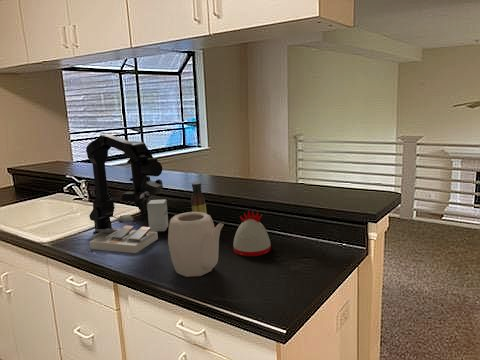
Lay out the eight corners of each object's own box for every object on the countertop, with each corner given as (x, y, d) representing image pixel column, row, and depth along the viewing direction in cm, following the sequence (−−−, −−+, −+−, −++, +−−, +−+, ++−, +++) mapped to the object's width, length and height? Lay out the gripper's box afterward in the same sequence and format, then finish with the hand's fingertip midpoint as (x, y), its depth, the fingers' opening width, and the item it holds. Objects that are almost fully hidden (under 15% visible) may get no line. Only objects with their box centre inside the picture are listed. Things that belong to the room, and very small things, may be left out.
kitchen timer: (267, 257, 143) (266, 216, 140) (230, 255, 146) (227, 215, 143) (272, 243, 156) (271, 205, 153) (237, 242, 159) (236, 205, 156)
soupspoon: (124, 225, 191) (136, 222, 196) (123, 218, 190) (135, 216, 195) (101, 216, 206) (113, 213, 211) (101, 209, 205) (113, 207, 210)
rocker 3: (130, 241, 157) (129, 238, 156) (142, 230, 164) (141, 226, 164) (140, 242, 155) (139, 238, 154) (151, 230, 163) (151, 227, 162)
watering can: (207, 292, 119) (203, 230, 115) (154, 269, 137) (149, 215, 133) (243, 273, 130) (240, 217, 126) (189, 255, 148) (185, 205, 144)
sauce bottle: (208, 224, 183) (206, 181, 180) (206, 228, 177) (203, 184, 173) (194, 224, 184) (191, 181, 180) (191, 228, 178) (188, 184, 174)
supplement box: (165, 231, 176) (163, 203, 174) (149, 231, 177) (146, 203, 174) (169, 226, 184) (166, 199, 181) (152, 226, 184) (150, 199, 181)
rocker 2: (113, 240, 159) (112, 236, 159) (125, 228, 167) (124, 225, 166) (122, 241, 158) (121, 237, 157) (134, 229, 165) (133, 225, 165)
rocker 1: (95, 233, 161) (95, 228, 161) (109, 233, 170) (110, 229, 170) (104, 233, 160) (104, 229, 160) (118, 234, 168) (118, 230, 168)
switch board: (88, 248, 159) (87, 238, 159) (113, 235, 174) (112, 225, 173) (137, 253, 152) (136, 242, 151) (159, 239, 166) (159, 229, 166)
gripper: (143, 179, 147) (148, 221, 150) (169, 170, 164) (172, 207, 167) (118, 179, 150) (122, 219, 153) (145, 170, 168) (149, 206, 171)
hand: (143, 213), depth 161 cm, fingers closed
